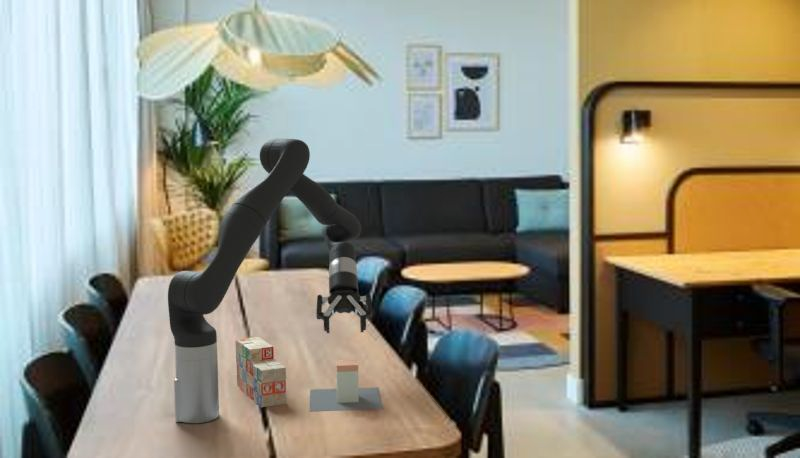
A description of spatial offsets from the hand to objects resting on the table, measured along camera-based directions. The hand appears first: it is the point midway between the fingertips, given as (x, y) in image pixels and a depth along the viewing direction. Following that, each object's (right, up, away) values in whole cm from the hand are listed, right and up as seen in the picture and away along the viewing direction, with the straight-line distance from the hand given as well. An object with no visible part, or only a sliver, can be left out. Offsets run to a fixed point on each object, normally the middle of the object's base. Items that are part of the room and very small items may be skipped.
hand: (345, 331), depth 211 cm
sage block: (+1, -15, -9) cm, 18 cm away
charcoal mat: (+1, -16, -9) cm, 18 cm away
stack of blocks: (-21, -16, -4) cm, 26 cm away
